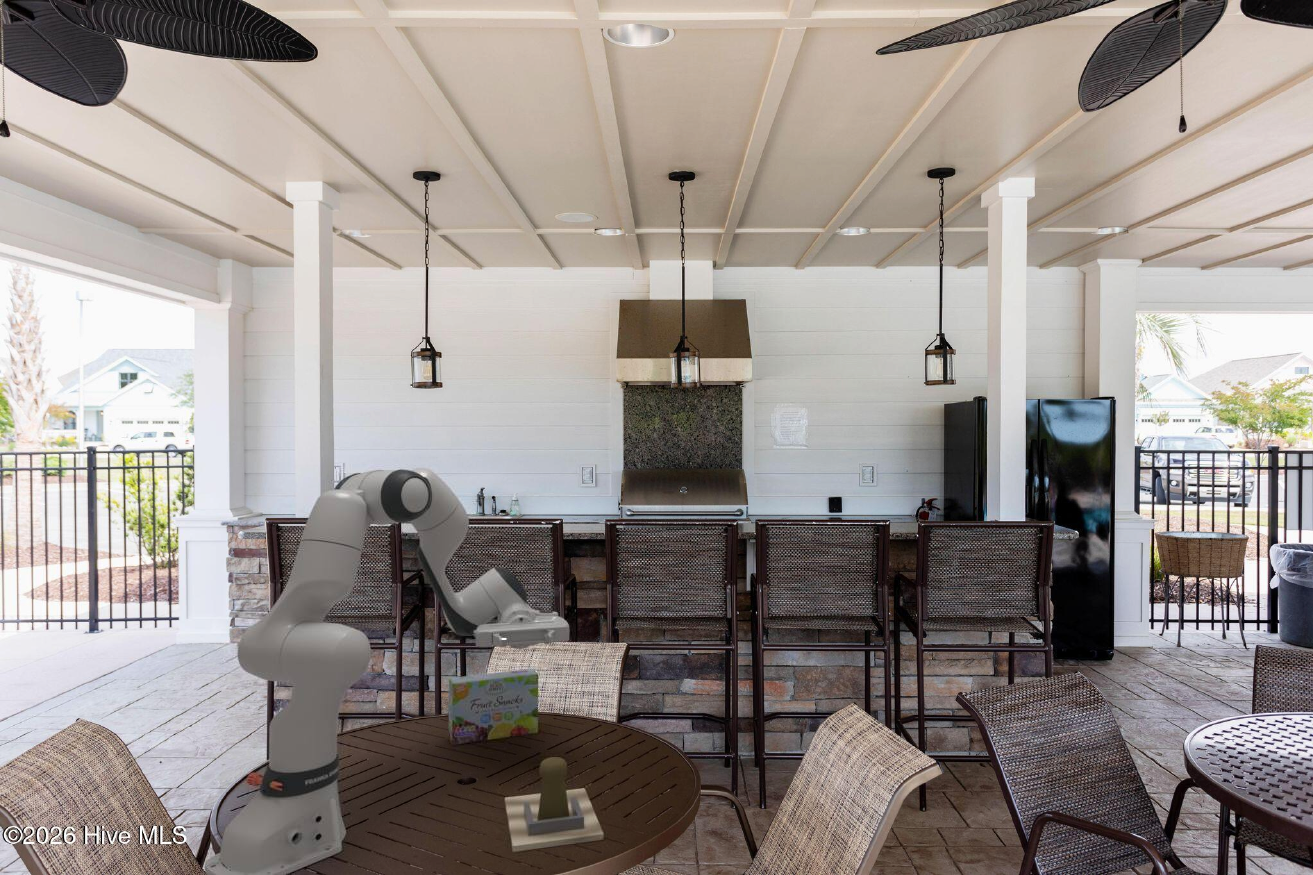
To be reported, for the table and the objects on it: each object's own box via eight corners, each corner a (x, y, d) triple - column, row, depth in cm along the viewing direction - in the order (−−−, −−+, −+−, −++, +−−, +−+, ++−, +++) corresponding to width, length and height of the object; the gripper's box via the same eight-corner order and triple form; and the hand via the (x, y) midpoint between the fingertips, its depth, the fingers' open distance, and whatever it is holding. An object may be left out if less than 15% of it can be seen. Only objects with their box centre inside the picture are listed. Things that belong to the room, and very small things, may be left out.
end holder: (523, 813, 145) (523, 802, 145) (576, 806, 148) (576, 796, 148) (528, 835, 137) (528, 824, 137) (584, 828, 139) (584, 817, 139)
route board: (504, 802, 152) (504, 797, 152) (584, 793, 156) (584, 788, 156) (512, 851, 133) (512, 846, 133) (603, 839, 137) (603, 833, 137)
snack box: (452, 746, 183) (452, 683, 183) (448, 739, 188) (448, 677, 188) (538, 733, 192) (538, 672, 192) (532, 726, 197) (532, 666, 197)
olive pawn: (572, 812, 146) (572, 753, 146) (566, 827, 140) (566, 766, 140) (540, 811, 146) (540, 753, 146) (534, 826, 140) (533, 765, 140)
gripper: (472, 616, 172) (474, 629, 158) (563, 611, 177) (573, 623, 164) (472, 644, 172) (474, 660, 158) (564, 638, 177) (573, 653, 164)
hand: (525, 641), depth 161 cm, fingers open, 8 cm apart
